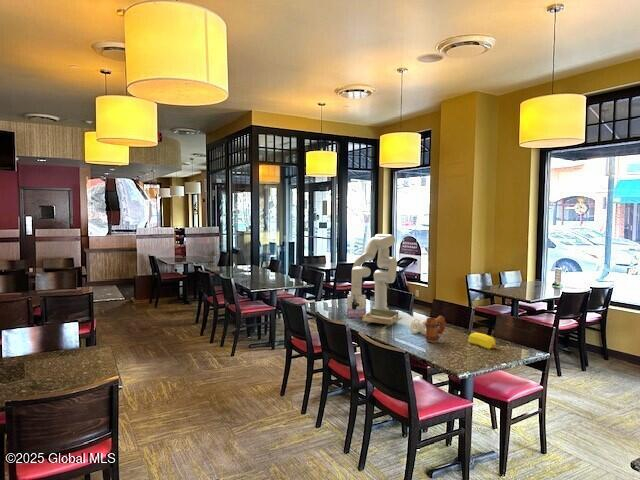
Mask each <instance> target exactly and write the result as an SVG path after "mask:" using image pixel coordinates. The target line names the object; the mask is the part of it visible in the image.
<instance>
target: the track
mask: <svg viewBox="0 0 640 480" xmlns="http://www.w3.org/2000/svg"><path fill="white" fill-rule="evenodd" d="M401 319H403V316H398V320H396V321H394V322H393V323H391V324H390V325H389V324H388V325H384V326H383V327H382V328H383V329H384V330H385V329H387V328H388V327H390V326H392V325H393V324H395V323H396V322H398V321H399V320H401ZM372 323H373V322H369V323H364V324H363V326H364V327H367V326H369V325H370V324H372Z"/></svg>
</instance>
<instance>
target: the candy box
mask: <svg viewBox="0 0 640 480" xmlns="http://www.w3.org/2000/svg"><path fill="white" fill-rule="evenodd" d="M354 300H356V299H354ZM346 301H347V302H346V304H347V305H346V318H347V319H362V316H363V315H365V314H367V296H366V294H362V295H360V296H358V300H357V301H356V310H354V309H352V302H351V294H347V297H346ZM354 302H355V301H354Z"/></svg>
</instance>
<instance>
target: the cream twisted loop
mask: <svg viewBox="0 0 640 480" xmlns="http://www.w3.org/2000/svg"><path fill="white" fill-rule="evenodd" d="M426 321H427V319H424V320H421V319H420V318H413V319H412V320H411V321H410V323H409V325H408V326H409V331H410V333H411V334H414V335H417V334H419V333H421V335H426V325H425V323H426Z"/></svg>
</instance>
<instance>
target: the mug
mask: <svg viewBox="0 0 640 480" xmlns="http://www.w3.org/2000/svg"><path fill="white" fill-rule="evenodd" d="M426 320H427V321H426V323H425V325H426V329H425V330H426V334H425V335H424V338H425V341H426V342H428V343H430V342H431V343H430V344H436V343H437V342H439V339H440V338H441V337H440V335H442V334H443V333H444V331H445V329H446V319H445V317H444V316H442V315H438V316H437V317H427V318H426Z"/></svg>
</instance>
